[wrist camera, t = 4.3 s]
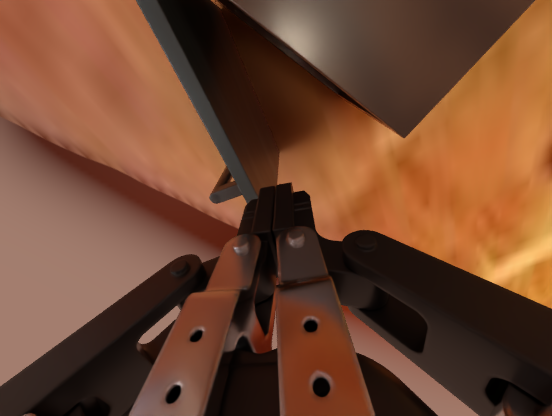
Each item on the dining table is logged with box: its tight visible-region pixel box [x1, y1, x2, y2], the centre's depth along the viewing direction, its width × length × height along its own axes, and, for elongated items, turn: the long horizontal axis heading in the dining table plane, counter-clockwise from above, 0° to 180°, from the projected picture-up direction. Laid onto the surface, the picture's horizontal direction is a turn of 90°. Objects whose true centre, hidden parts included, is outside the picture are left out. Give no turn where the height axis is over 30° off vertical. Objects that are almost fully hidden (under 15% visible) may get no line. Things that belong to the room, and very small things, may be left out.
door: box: [136, 0, 279, 204], centre depth 22 cm, size 6×17×18 cm, turn 22°
